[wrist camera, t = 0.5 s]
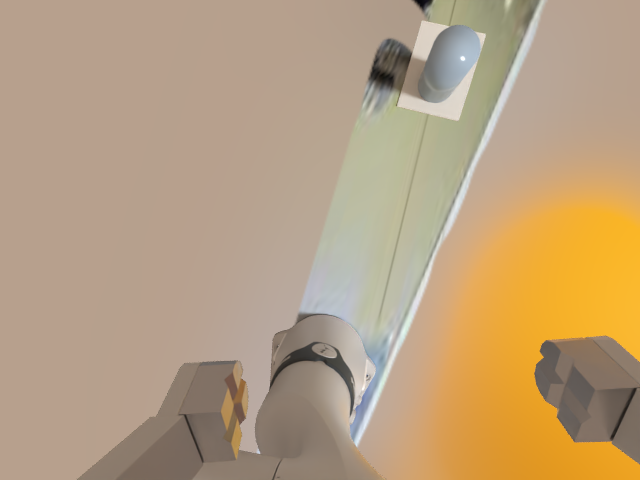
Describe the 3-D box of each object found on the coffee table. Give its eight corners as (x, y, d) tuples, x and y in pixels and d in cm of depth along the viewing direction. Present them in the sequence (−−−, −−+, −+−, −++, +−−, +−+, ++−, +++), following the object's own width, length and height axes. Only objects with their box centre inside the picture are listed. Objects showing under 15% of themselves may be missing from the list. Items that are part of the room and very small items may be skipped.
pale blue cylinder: (448, 106, 52) (471, 78, 40) (413, 98, 53) (425, 68, 41) (460, 69, 51) (487, 30, 40) (424, 61, 52) (440, 20, 40)
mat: (457, 121, 53) (458, 121, 52) (396, 107, 54) (396, 106, 53) (485, 35, 51) (486, 33, 50) (421, 22, 52) (421, 20, 51)
